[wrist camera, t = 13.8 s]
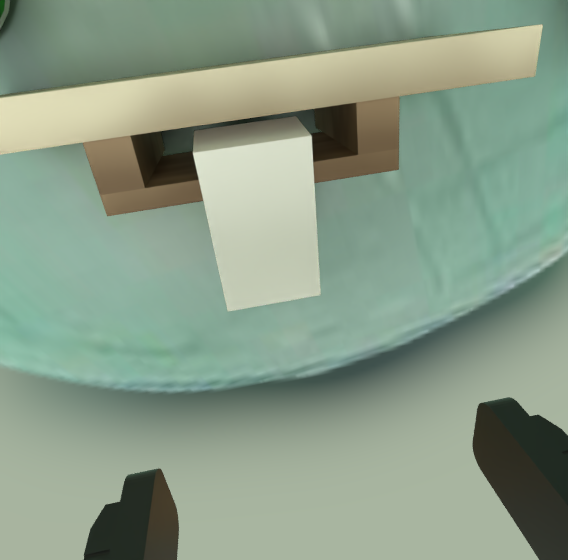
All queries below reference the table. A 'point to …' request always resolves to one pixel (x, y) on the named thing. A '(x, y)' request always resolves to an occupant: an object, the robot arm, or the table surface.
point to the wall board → (257, 109)
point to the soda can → (3, 10)
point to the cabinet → (260, 209)
